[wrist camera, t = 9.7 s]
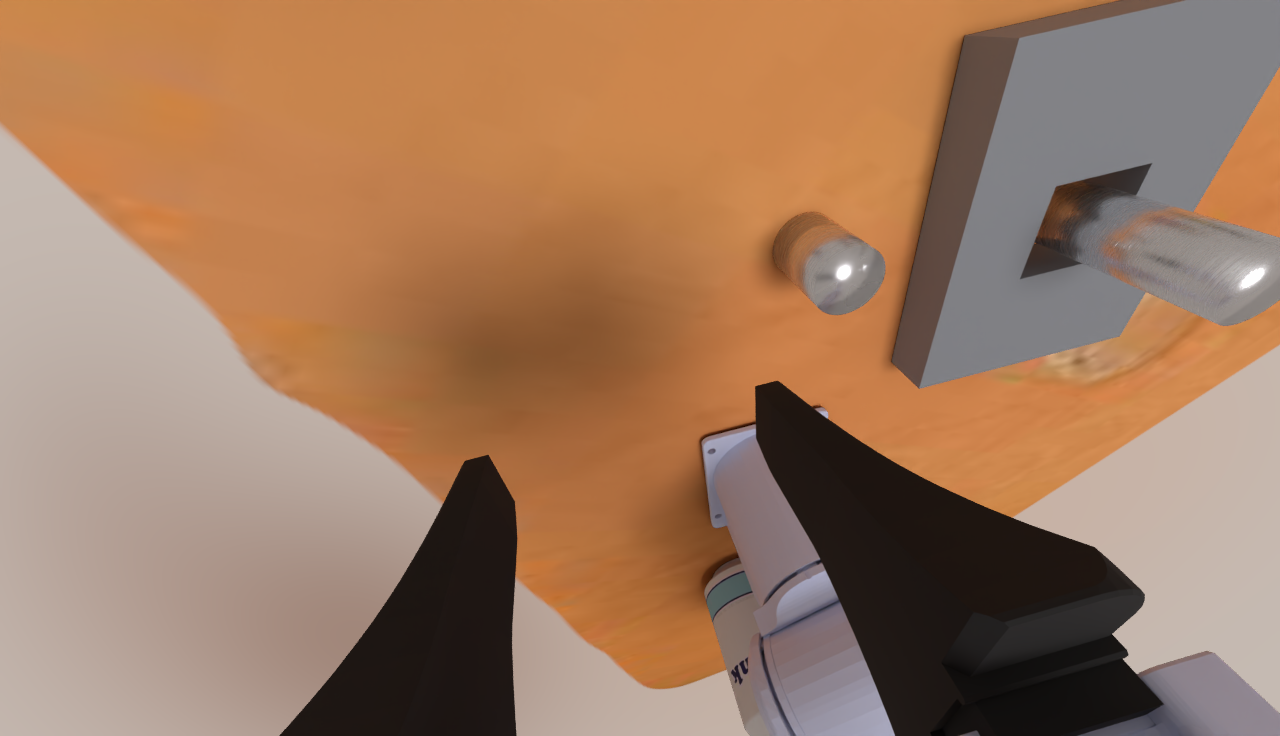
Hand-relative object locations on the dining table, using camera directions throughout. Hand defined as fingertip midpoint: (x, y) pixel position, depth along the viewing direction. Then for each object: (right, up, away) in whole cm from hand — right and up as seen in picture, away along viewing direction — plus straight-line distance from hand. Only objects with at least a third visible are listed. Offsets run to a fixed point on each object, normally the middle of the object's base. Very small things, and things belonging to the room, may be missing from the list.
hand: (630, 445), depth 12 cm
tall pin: (+20, +10, +10) cm, 24 cm away
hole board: (+20, +10, +10) cm, 24 cm away
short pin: (+8, +8, +9) cm, 14 cm away
